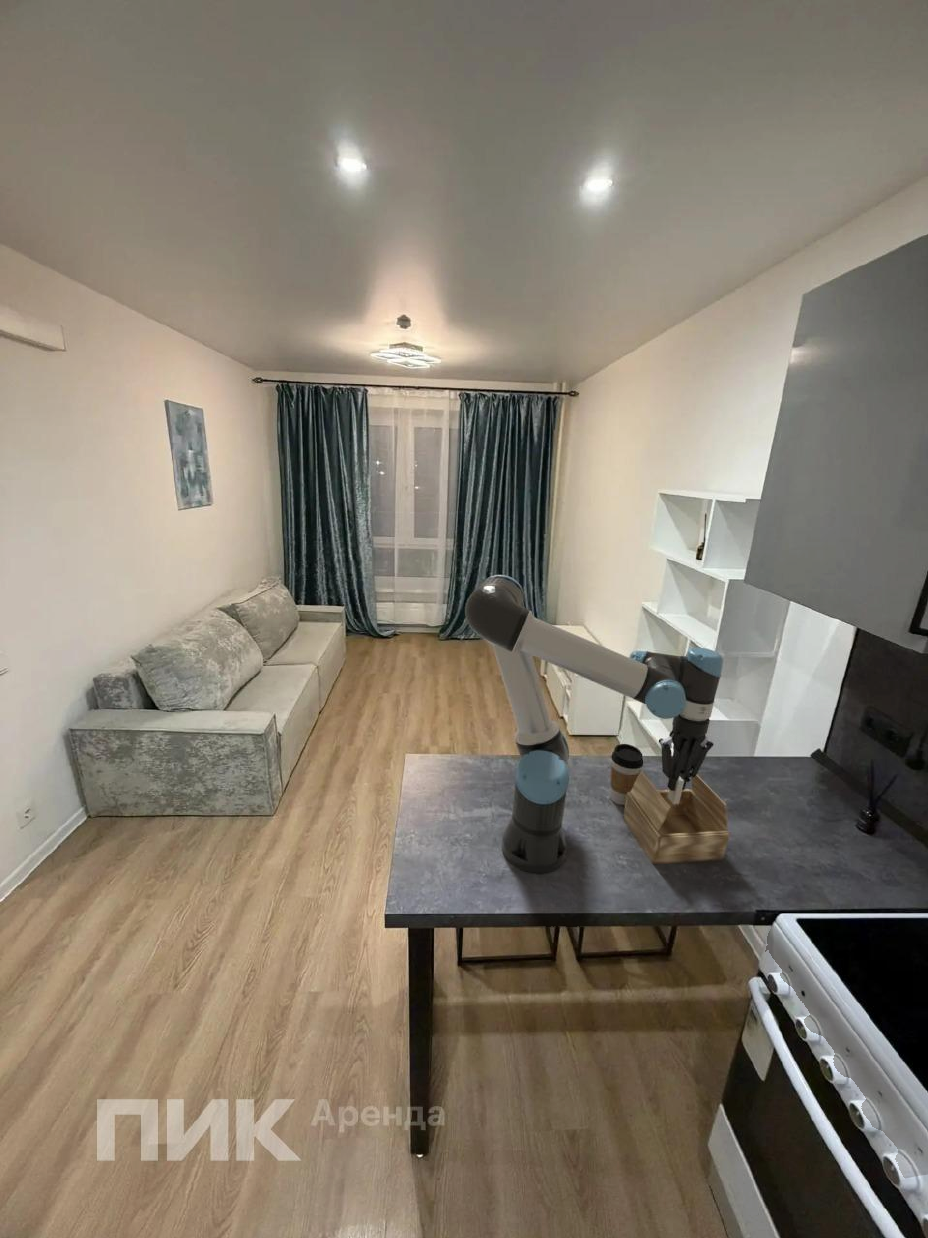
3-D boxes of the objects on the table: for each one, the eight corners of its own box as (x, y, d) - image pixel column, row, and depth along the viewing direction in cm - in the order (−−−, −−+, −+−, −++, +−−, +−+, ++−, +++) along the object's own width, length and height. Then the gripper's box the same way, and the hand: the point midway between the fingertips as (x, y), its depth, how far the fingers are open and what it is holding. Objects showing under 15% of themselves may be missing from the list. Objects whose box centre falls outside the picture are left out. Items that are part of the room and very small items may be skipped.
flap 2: (725, 827, 118) (725, 805, 116) (691, 790, 131) (690, 769, 129) (727, 826, 118) (726, 804, 116) (693, 789, 131) (692, 769, 129)
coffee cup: (632, 790, 144) (640, 744, 139) (639, 809, 135) (648, 762, 131) (602, 787, 144) (610, 741, 140) (607, 806, 136) (615, 758, 132)
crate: (653, 866, 116) (659, 837, 114) (622, 817, 132) (626, 791, 130) (724, 861, 119) (731, 833, 117) (684, 813, 135) (690, 788, 133)
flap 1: (657, 830, 115) (669, 807, 114) (630, 792, 128) (640, 771, 127) (659, 830, 115) (671, 807, 114) (631, 792, 128) (641, 771, 127)
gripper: (675, 722, 111) (656, 811, 118) (728, 721, 113) (706, 809, 120) (658, 706, 118) (641, 791, 125) (708, 706, 120) (688, 789, 127)
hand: (673, 800), depth 122 cm, fingers closed
